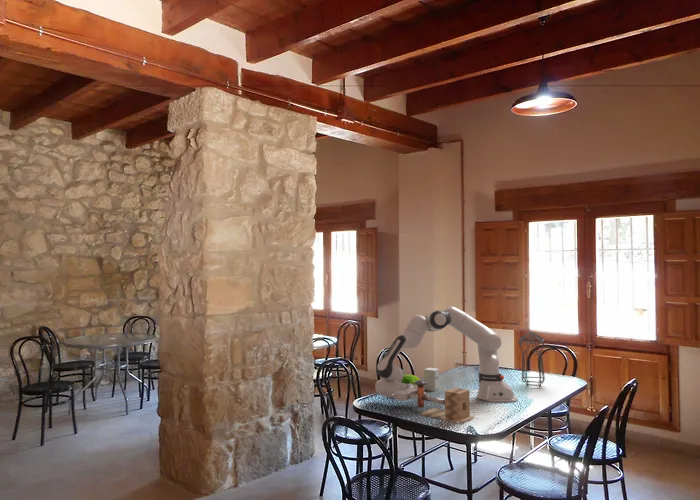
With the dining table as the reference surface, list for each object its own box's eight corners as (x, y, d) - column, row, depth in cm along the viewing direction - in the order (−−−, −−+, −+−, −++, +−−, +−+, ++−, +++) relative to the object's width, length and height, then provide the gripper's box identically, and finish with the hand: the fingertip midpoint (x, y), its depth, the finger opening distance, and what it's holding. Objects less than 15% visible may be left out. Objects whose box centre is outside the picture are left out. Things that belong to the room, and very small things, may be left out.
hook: (412, 406, 269) (412, 381, 269) (419, 404, 273) (419, 379, 274) (442, 413, 257) (441, 387, 257) (448, 410, 261) (448, 385, 262)
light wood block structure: (420, 414, 262) (420, 387, 262) (433, 409, 271) (433, 383, 271) (462, 424, 246) (461, 394, 246) (474, 418, 255) (474, 390, 255)
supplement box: (434, 391, 311) (434, 370, 311) (423, 389, 315) (423, 369, 315) (439, 388, 317) (439, 368, 318) (428, 387, 321) (428, 367, 322)
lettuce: (429, 392, 307) (429, 373, 307) (408, 399, 293) (408, 378, 293) (411, 389, 317) (411, 369, 317) (390, 394, 303) (390, 374, 303)
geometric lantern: (546, 390, 313) (544, 333, 314) (519, 389, 318) (517, 332, 319) (546, 384, 327) (544, 330, 328) (521, 383, 333) (518, 329, 334)
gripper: (389, 388, 270) (410, 393, 261) (411, 382, 285) (432, 386, 276) (389, 400, 270) (410, 405, 261) (411, 393, 285) (432, 398, 276)
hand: (422, 395), depth 269 cm, fingers open, 5 cm apart
